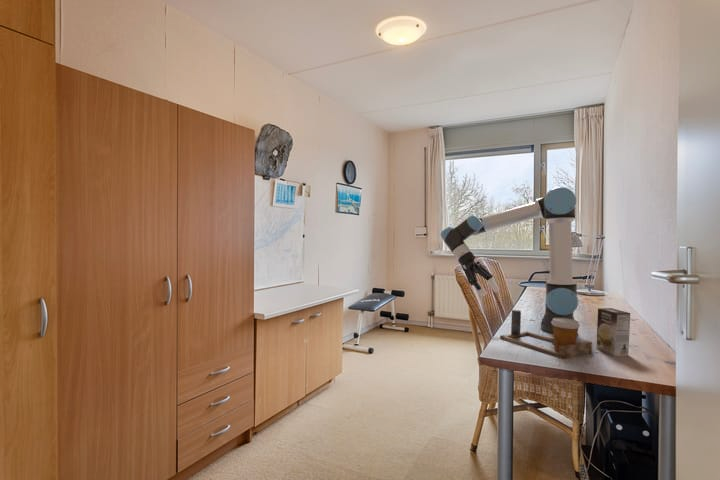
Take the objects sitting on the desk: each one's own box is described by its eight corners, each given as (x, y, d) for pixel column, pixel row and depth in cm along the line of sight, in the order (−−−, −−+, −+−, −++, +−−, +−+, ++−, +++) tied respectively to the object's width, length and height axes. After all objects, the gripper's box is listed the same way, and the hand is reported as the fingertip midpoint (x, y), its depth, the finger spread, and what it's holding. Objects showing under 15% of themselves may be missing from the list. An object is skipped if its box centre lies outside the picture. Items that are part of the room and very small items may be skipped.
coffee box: (595, 348, 147) (596, 307, 146) (609, 348, 148) (610, 307, 147) (614, 356, 138) (616, 312, 137) (629, 355, 139) (631, 312, 138)
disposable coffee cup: (582, 356, 136) (584, 324, 136) (554, 354, 138) (555, 322, 138) (573, 349, 145) (574, 318, 145) (547, 347, 147) (548, 316, 147)
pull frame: (525, 333, 167) (526, 308, 166) (591, 352, 141) (592, 323, 141) (498, 337, 158) (499, 311, 158) (563, 358, 133) (564, 327, 133)
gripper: (470, 258, 188) (496, 293, 180) (445, 262, 170) (472, 302, 162) (481, 249, 184) (508, 285, 176) (456, 252, 166) (485, 292, 157)
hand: (491, 293), depth 169 cm, fingers open, 13 cm apart
